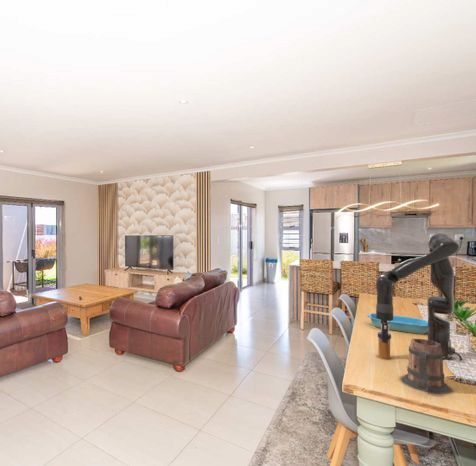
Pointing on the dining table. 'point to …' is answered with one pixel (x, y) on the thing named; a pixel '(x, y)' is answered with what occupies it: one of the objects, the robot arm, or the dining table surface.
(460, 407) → the dining table surface
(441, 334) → the robot arm
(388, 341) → the jar
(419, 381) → the tankard
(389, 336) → the lid
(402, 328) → the casserole dish
